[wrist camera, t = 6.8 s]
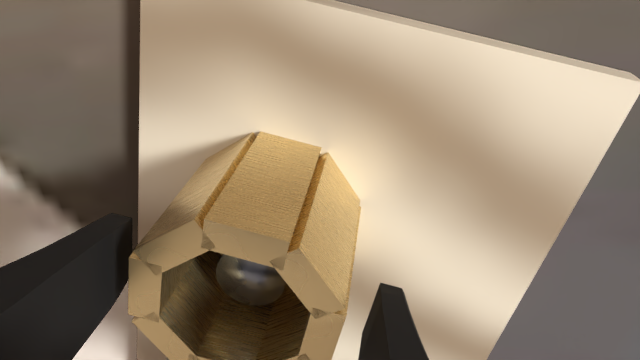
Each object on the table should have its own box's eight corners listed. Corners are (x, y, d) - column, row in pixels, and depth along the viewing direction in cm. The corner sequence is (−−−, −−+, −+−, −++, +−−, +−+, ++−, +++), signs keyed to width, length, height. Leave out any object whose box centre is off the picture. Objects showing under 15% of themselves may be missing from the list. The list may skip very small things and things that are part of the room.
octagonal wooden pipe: (335, 288, 18) (314, 408, 13) (193, 250, 18) (127, 357, 14) (375, 161, 15) (365, 262, 11) (207, 117, 15) (129, 198, 11)
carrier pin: (305, 225, 18) (278, 313, 14) (253, 212, 18) (212, 295, 14) (316, 180, 17) (290, 260, 13) (261, 166, 17) (219, 242, 13)
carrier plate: (417, 457, 24) (417, 478, 23) (145, 384, 24) (136, 402, 23) (629, 72, 14) (645, 83, 13) (156, -43, 14) (140, -40, 13)
